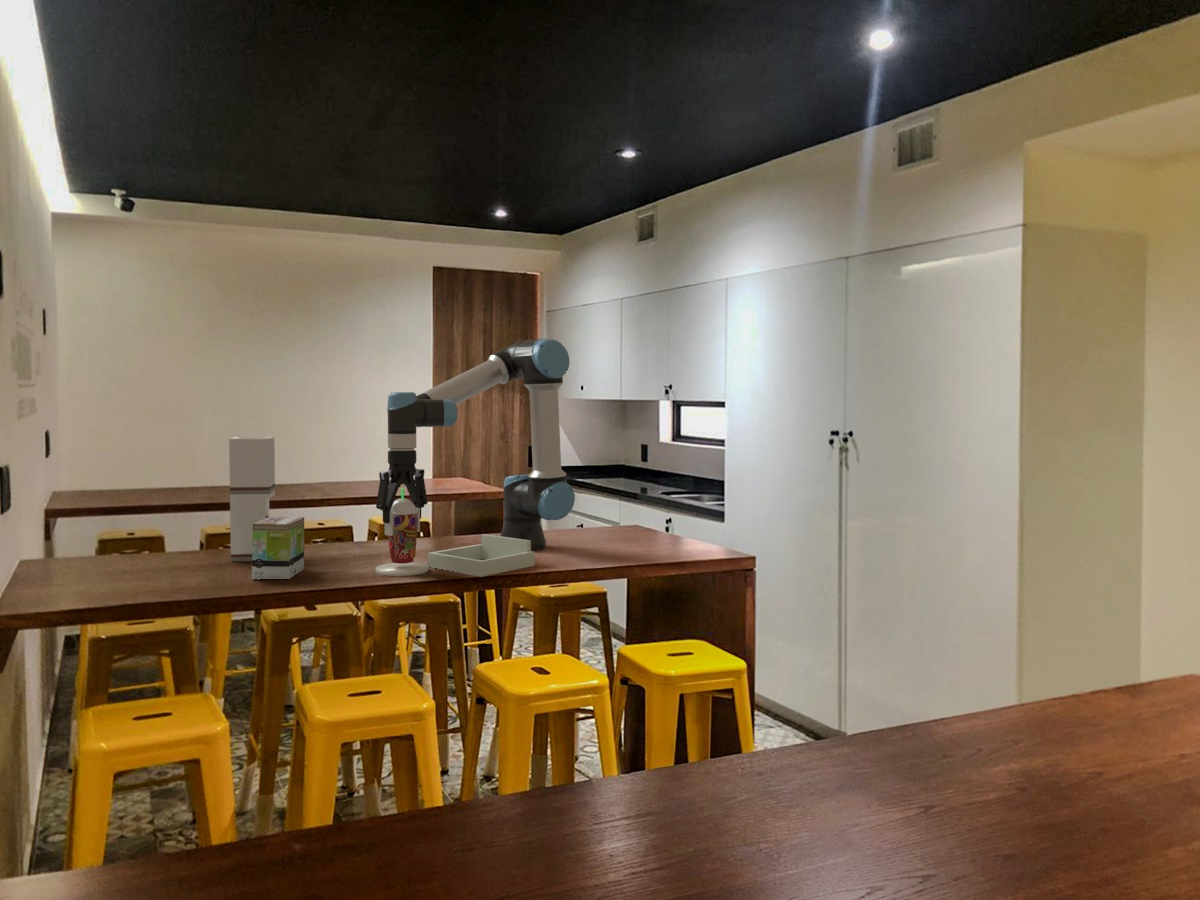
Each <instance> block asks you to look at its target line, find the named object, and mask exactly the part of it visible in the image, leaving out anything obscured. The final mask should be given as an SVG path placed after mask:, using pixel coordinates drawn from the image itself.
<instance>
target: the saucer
mask: <svg viewBox="0 0 1200 900" xmlns="http://www.w3.org/2000/svg"><path fill="white" fill-rule="evenodd" d="M429 571H430V570H429V566H428V564H426V563H423V562H414V561H413V562H411V563H404V564H399V563H393V562H390V563H383V564H380V565H378V566H375V574H377V575H379V576H384V575H386V576H387V577H411V576H413V575H414V576H419V575H424V574H427V573H428V572H429ZM426 572H427V573H426ZM386 576H385V577H386Z"/></svg>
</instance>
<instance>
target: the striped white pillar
mask: <svg viewBox="0 0 1200 900" xmlns="http://www.w3.org/2000/svg"><path fill="white" fill-rule="evenodd" d="M228 444H229V445H228V446H229V447H228V448H229V449H228V451H229V454H228V455H229V460H228V461H229V520H230V521H229V522H230V525H229V526H230V530H229V531H230V535H229V536H230V562H231V561H236V562H252V540H253V523H256V522H258V521H260V520H263V519H265V518H268V517H270V499H271V498H272V497H275V495H276V470H275V469H276V467H275V466H276V463H275V459H276V457H275V454H276V453H275V436H270V437H259V438H254V437H253V438H252V437H251V438H250V437H248V438H246V437H245V438H244V437H243V438H242V437H241V438H240V436H234V437H230V438H228Z"/></svg>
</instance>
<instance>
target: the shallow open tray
mask: <svg viewBox="0 0 1200 900" xmlns="http://www.w3.org/2000/svg"><path fill="white" fill-rule="evenodd" d="M535 554H536V553H535V551H531V540H523V539H516V538H509V537H502V536H500V535H493V534H485V533H484V534H481V543H478V544H471V545H468V546H462V547H460V546H459V547H456V548H449V549H442V550H438V551H431V552H427V565H428V566H429V567H431V568H430V569H435V568H437V569H436V570H441V569H443V570H442V571H446V570H449V571H448V572H452V571H454V572H453V573H458V572H459V574H464V575H470V576H476V577H482V578H483V577H487V576H492V575H496V574H500V573H501V574H502V573H505V572H511V571H516V570H520V569H526V568H530V567H535V562H536V561H535V558H536V557H535ZM481 559H482V560H481Z"/></svg>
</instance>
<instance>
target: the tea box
mask: <svg viewBox="0 0 1200 900" xmlns="http://www.w3.org/2000/svg"><path fill="white" fill-rule="evenodd" d="M304 569H305V517H301V516H299V517H298V516H297V517H296V516H269V517H268V518H265V519H263V520H260V521H258V522H256V523H253V540H252V561H251V579H252V580H255V579H257V580H258V581H260V579H289V580H290V579H291V578H293V577H294V576H295V575H297V574H299V573H300V572H302V571H303V570H304ZM257 580H256V581H257Z"/></svg>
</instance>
